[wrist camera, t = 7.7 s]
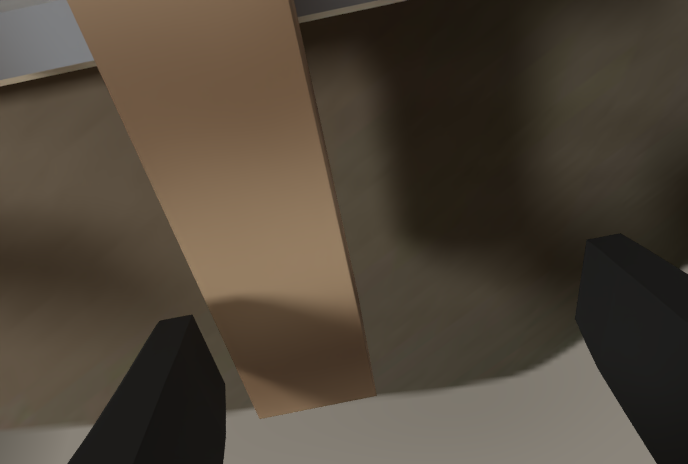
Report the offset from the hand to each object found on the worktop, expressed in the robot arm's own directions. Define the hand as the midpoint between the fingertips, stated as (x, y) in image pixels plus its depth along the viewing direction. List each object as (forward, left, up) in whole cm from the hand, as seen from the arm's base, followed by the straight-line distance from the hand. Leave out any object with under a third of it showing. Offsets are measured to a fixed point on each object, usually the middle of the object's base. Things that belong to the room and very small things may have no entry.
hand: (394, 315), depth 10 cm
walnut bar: (+2, -5, -4) cm, 7 cm away
